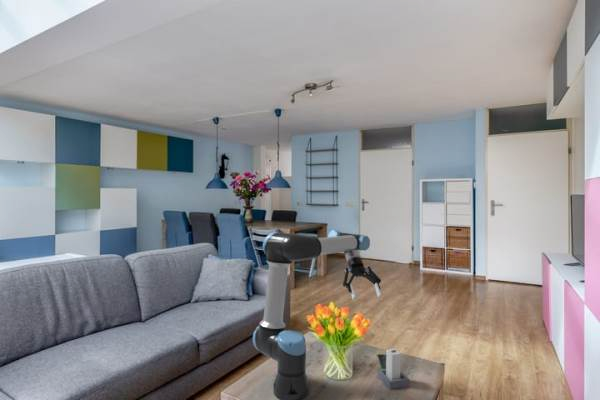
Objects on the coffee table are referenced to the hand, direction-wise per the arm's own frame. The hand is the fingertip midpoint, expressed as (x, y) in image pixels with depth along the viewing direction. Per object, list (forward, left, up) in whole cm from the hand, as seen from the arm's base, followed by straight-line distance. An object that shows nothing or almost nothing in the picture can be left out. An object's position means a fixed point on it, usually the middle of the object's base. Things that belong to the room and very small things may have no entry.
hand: (367, 297), depth 172 cm
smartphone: (+8, +5, -32) cm, 34 cm away
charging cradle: (+18, -9, -32) cm, 37 cm away
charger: (+18, -9, -31) cm, 36 cm away
